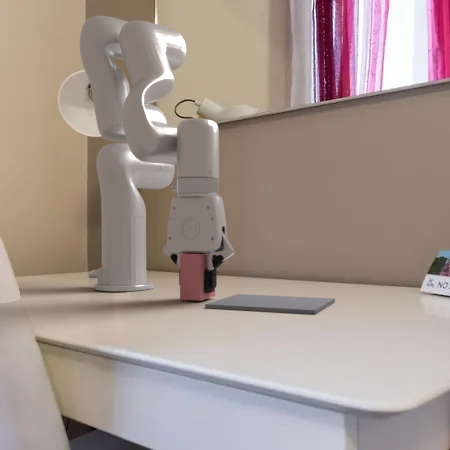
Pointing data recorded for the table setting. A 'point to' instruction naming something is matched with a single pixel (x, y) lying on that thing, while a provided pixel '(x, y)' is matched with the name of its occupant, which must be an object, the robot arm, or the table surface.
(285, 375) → the table surface
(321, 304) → the mat
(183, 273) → the pink rectangular block
